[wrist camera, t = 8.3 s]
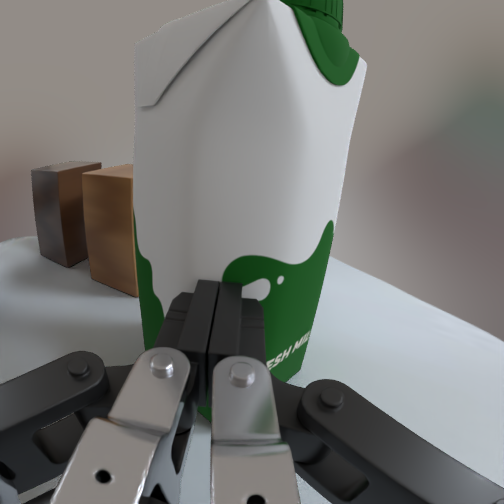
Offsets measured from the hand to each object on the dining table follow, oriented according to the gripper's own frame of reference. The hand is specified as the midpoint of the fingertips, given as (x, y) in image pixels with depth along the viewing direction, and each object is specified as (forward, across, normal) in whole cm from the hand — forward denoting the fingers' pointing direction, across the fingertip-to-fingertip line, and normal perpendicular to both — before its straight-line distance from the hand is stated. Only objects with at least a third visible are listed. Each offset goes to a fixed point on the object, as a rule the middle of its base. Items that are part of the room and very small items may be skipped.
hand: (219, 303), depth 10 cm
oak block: (+15, +10, +8) cm, 19 cm away
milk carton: (+4, 0, +8) cm, 9 cm away
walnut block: (+18, +19, +8) cm, 28 cm away
